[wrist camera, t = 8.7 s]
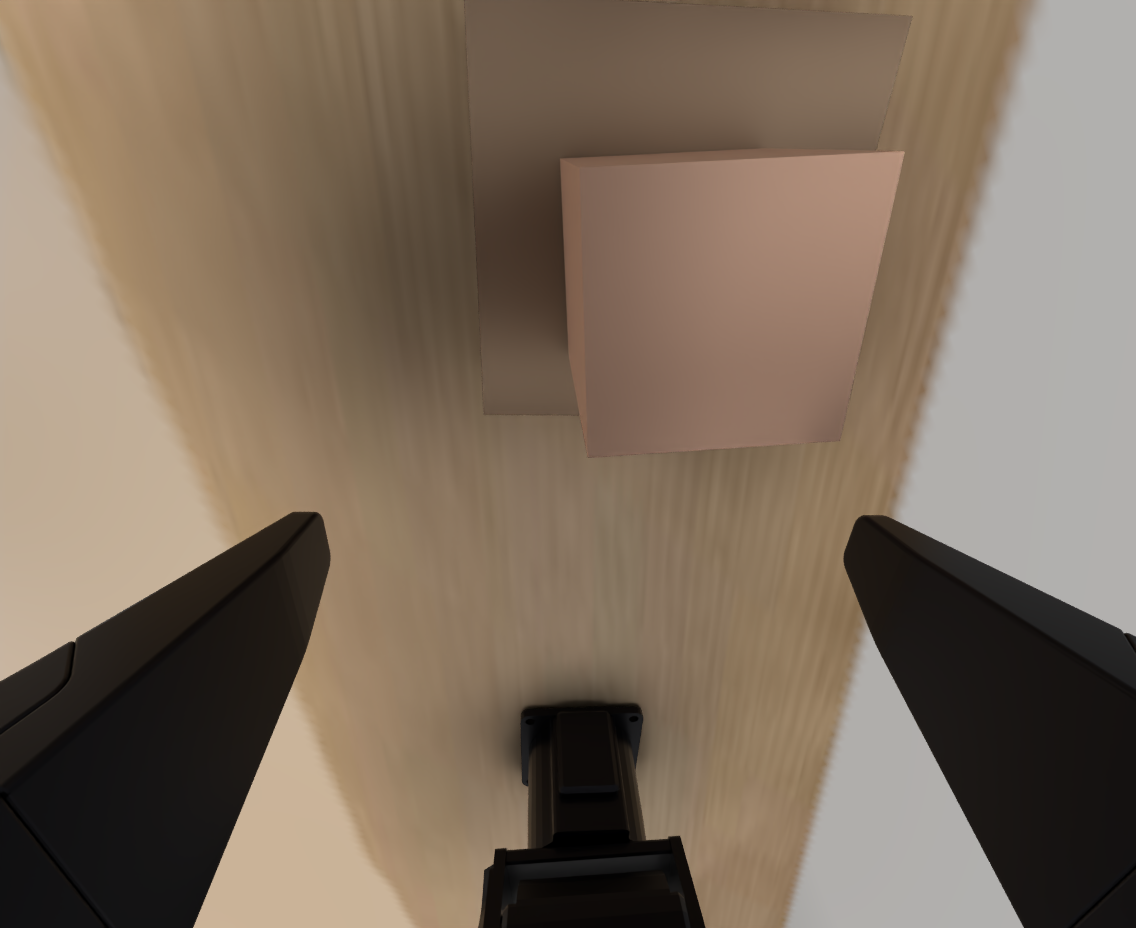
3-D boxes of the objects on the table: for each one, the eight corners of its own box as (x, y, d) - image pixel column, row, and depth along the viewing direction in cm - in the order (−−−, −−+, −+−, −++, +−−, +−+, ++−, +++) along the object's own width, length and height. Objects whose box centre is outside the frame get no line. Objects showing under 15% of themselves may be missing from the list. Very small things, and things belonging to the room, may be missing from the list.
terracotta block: (740, 346, 16) (840, 440, 11) (568, 356, 16) (588, 457, 11) (762, 148, 14) (905, 151, 9) (559, 158, 14) (579, 167, 8)
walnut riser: (759, 370, 21) (803, 417, 18) (492, 366, 21) (483, 414, 17) (831, 40, 16) (912, 15, 13) (479, 22, 15) (463, -9, 12)
